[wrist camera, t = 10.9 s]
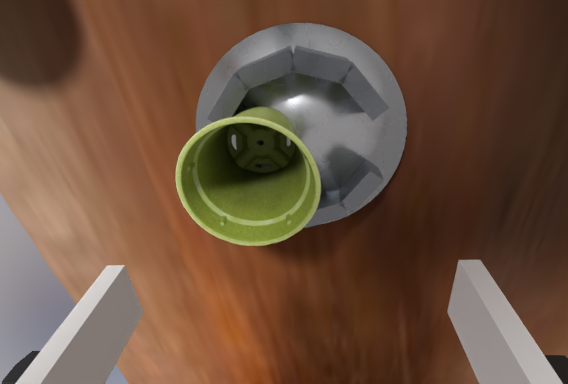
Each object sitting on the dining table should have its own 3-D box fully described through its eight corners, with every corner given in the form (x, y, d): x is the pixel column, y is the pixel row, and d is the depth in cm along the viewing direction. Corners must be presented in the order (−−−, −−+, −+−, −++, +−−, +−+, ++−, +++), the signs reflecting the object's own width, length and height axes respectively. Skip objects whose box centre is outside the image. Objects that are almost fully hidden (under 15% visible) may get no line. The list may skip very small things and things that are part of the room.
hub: (289, -37, 24) (286, -43, 21) (448, 127, 29) (465, 142, 26) (161, 143, 31) (145, 157, 28) (306, 249, 36) (305, 272, 33)
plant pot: (314, 80, 27) (318, 112, 19) (318, 185, 31) (322, 244, 24) (198, 88, 27) (158, 122, 20) (219, 190, 32) (192, 248, 24)
